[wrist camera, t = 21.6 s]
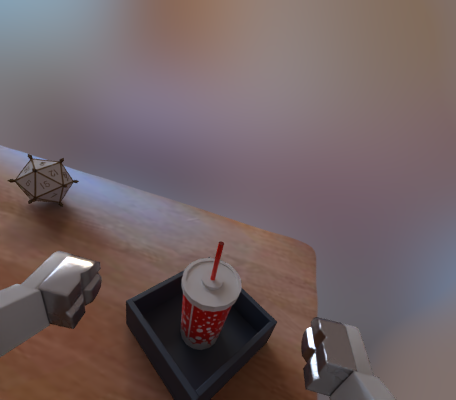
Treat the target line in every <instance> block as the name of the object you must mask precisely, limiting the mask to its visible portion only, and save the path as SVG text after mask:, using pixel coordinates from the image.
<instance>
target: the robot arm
mask: <svg viewBox="0 0 456 400" xmlns="http://www.w3.org/2000/svg"><path fill="white" fill-rule="evenodd" d="M100 269H101V267H100V262H97V261H94V260H90V259H87V258H83V257H80V256H76V255H73V254H69V253H65V252H61V251H57V252H55V253H53V254H52V255H51V256H50V257H49V258H48V259H47V260H46V261H45V262H44V263H43V264H42V265H41V266H40V267H39V268H38V269H37V270H36V271H35V272H34V273H32V274H31V275H30V276H29V277H28V278H27V279H26V280H25V281H24V282H23V283H22V284H21V285H19V284H15V285H13V286H10V287H8V288H5V289H3V290H1V291H0V357H1V356H3V355H4V354H6V353H7V352H9V351H11V350H12V349H14V348H15V347H17V346H18V345H20V344H21V343H23V342H24V341H26V340H28V339H29V338H31V337H32V336H34V335H35V334H37V333H38V332H40V331H41V330H43V329H44V328H46V327H48V326H49V325H50V324H53V325H58V326H62V327H66V328H71V329H74V328H75V326H76V325H77V324H78V322H79V321H80V319H81V318H82V316H83V315H84V313H85V306H86V305H87V304H89V303H91V302H93V300H94V299H95V297H96V296H97V294H98V292H99V289H100V287H101V282H102V280H101V276H100V275H99V273H98V271H99V270H100ZM301 349H302V356H303V358H304V359H305V361H306V362H307V364H306V365H305V367H304V368H303V370H304V379H305V388H306V389H307V390H310V391H314V392H317V393H321V394H324V395H327V396H330V397H329V398H330V400H396V399H395V397H394V396H393V395H392V393H391V392H390V391H389V390H388V389H387V387H386V386H385V385H384V384H383V382H382V381H381V380H380V379H379V377H376V376H374V374H373V371H372V368H371V365H370V361H369V358H368V355H367V352H366V349H365V346H364V343H363V340H362V336H361V334H360V331H359V329H358V328H357V327H354V326H350V325H346V324H342V323H339V322H335V321H330V320H327V319H322V318H318V317H315V318H313V320H312V321H311V328H308V329H306V331H305V333H304V334H303V338H302V346H301Z"/></svg>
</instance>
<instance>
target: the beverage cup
mask: <svg viewBox="0 0 456 400" xmlns="http://www.w3.org/2000/svg"><path fill="white" fill-rule="evenodd" d="M223 246H224V243H223V242H219V244H218V249H217V253H216V257H215V259H213V258H205V259H199V260H196V261H194V262H192V263H190V264H189V266H188V267H187V268H186V269H185V270H184V273H183V277H182V281H181V282H182V284H181V286H182V290H183V301H182V316H181V330H180V331H181V336H182V339H183V340H184V342H185V343H186V345H188V346H190V347H191V348H193V349H198V350H203V349H207V348H209V347H211V346H212V345H213V344H215V342H216V340H217V338H218V336H219V334H220V332H221V329H222V327H223V325H224V323H225V320H226V318H227V316H228V314H229V311H230V309H231V307H232V305H233V304H235V302H236V300H237V298H238V296H239V294H240V292H241V279H240V277H239V275H238V272H237V271H236V270H235V269H234V268H233V267H232V266H231V265H230V264H228V263H226V262H224V261H222V260H220V257H221V253H222V249H223Z"/></svg>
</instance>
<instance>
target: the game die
mask: <svg viewBox="0 0 456 400" xmlns="http://www.w3.org/2000/svg"><path fill="white" fill-rule="evenodd" d="M28 157H29V158H30V161H29V162H28V163H27V165H26V166H25V167H24V169H23V170H22V171H21V173H20V174H19V175H18V177H17V178H16V179H15V180H13V179H10V180H8V181H9V182H16V183H17V185H18V186H19V187H20V188H21V189H22V190H23V191H24V193H25V194H26V195H27V196H28V197H29V198H30V199H31V200H29V201H28V203H29V204H30V203H32V202H35V201H44V202H56V203H59V205H60V206H62V207H63V204H62V203H61V200H62V199H63V197H64V196H65V194H66V193H67V191H68V190H69V188H70V187H71V185H72V184H73V182H74V183H77V182H79V181H77V180H74V181H73V180H72V178H71V177H70V175H69V174H68V172H67V171H66V169H65V168H64V166H63V165H62V162H63V161H64V158H62V159H60V162H57V161H49V160H40V159H33V158H32V155H29V154H28Z"/></svg>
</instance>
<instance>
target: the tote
mask: <svg viewBox="0 0 456 400" xmlns="http://www.w3.org/2000/svg"><path fill="white" fill-rule="evenodd" d="M209 258H210V257H209ZM183 273H184V271H182V272H180V273H178V274H176V275H175V276H173V277H171V278H169V279H167V280H165V281H163V282H161V283H159V284H157V285H156V286H154V287H152V288H150V289H148V290H146V291H144V292H142V293H140V294H138V295H137V296H135V297H133V298H131V299H129V300H127V301H126V324H127V325H128V327H129V329H130V330H131V332H132V333H133V335H134V336H135V338H136V340H137V341H138V343H139V344H140V346H141V348H142V349H143V351H144V352H145V354H146V356H147V357H148V359H149V360H150V362H151V364H152V365H153V367H154V368H155V370H156V371H157V373H158V375H159V376H160V378H161V379H162V381H163V383H164V384H165V386H166V387H167V389H168V391H169V392H170V394H171V395H172V397H173V398H174V400H210V399H211V398H212V397H213V396H214V395H215V394H216V393H217V392H218V391H219V390H220V389H221V388H222V387H223V386H224V385H225V384H226V383H227V382H228V381H229V380H230V379H231V378H232V377H233V376H234V375H235V374H236V373H237V372H238V371H239V370H240V369H241V368H242V367H243V366H244V365H245V364H246V363H247V362H248V361H249V360H250V359H251V358H252V357H253V356H254V355H255V354H256V353H257V352H258V351H259V350H260V349H261V348H262V347H263V346H264V345H265V344H266V343H267V341H268V339H269V337H270V335H271V333H272V331H273V329H274V327H275V325H276V323H277V321H276V320H275V319H274V318H273V317H271V316H270V315H269V314H268V313H267V312H266V311H265V310H264V309H263V308H262V307H261V306H260V305H259V304H258V303H257V302H256V301H255V300H254V299H253V298H252V297H251V296H250V295H249V294H248V293H246V292H245V291H244V290H243V289H242V288H241V292H240V294H239V296H238V298H237V300H236V302H235V304H233V305H232V307H231V309H230V311H229V314H228V316H227V318H226V320H225V323H224V325H223V327H222V329H221V332H220V334H219V336H218V338H217V340H216V342H215V344H213V345H212V346H211V347H209V348H207V349H203V350H198V349H193V348H191V347H190V346H188V345H186V343H185V342H184V340H183V339H182V336H181V331H180V330H181V316H182V301H183V290H182V286H181V284H182V282H181V281H182V277H183Z"/></svg>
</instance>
